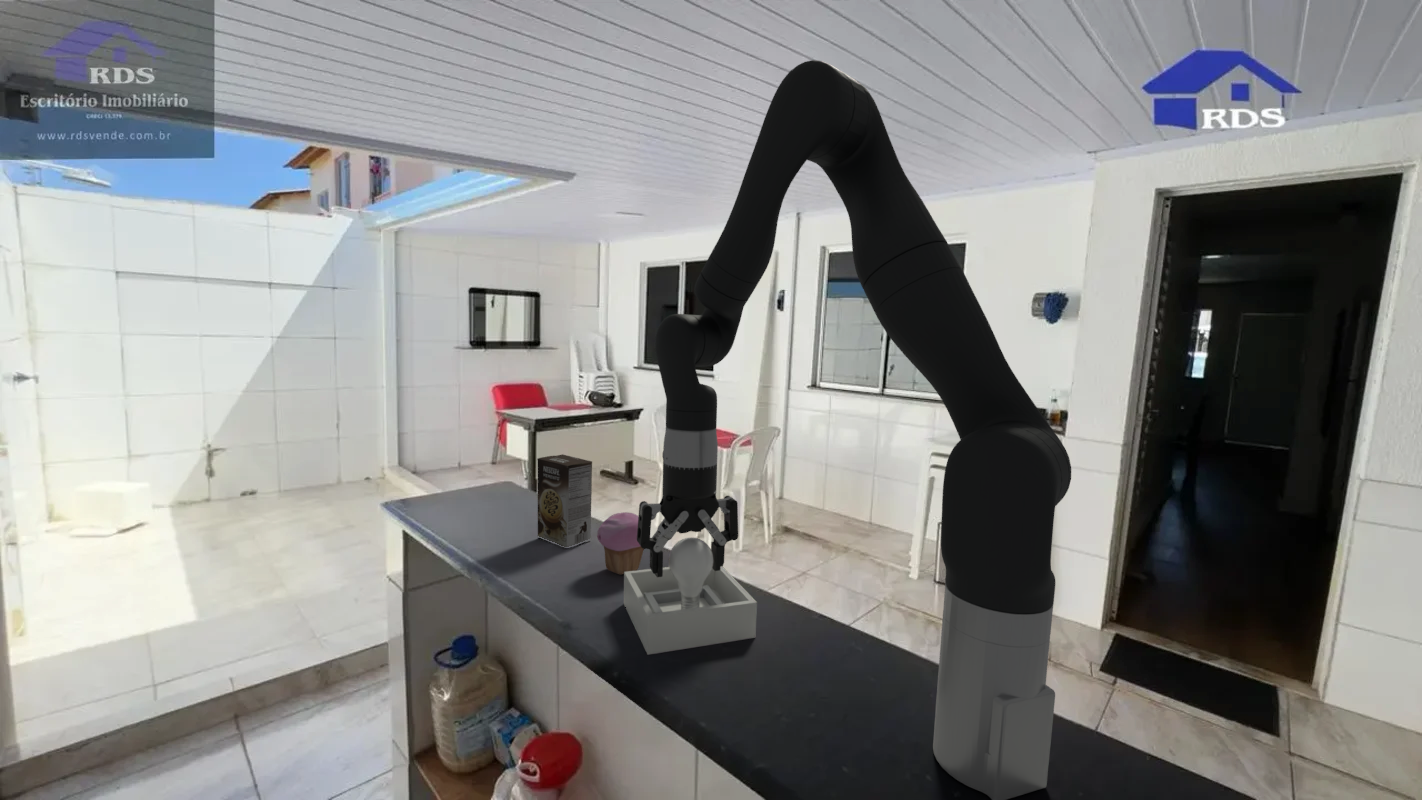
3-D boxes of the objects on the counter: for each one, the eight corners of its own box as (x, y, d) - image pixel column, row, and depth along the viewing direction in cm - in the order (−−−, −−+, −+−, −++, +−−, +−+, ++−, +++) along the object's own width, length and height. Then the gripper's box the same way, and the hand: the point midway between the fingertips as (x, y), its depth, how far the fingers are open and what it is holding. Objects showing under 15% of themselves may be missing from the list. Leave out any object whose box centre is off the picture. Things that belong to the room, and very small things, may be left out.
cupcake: (633, 557, 108) (633, 503, 107) (658, 573, 101) (660, 516, 100) (588, 568, 103) (588, 511, 102) (612, 585, 96) (612, 525, 95)
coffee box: (535, 539, 116) (535, 457, 115) (562, 530, 122) (562, 453, 120) (566, 550, 111) (566, 465, 109) (592, 541, 116) (593, 459, 114)
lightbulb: (707, 626, 81) (708, 549, 80) (662, 620, 83) (663, 544, 81) (716, 605, 88) (717, 533, 86) (674, 600, 89) (675, 529, 87)
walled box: (755, 637, 81) (756, 602, 80) (647, 654, 76) (648, 617, 75) (717, 591, 95) (717, 561, 94) (623, 603, 90) (624, 571, 89)
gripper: (646, 468, 77) (644, 588, 78) (748, 463, 82) (744, 576, 83) (633, 456, 84) (632, 567, 86) (728, 452, 89) (724, 557, 90)
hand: (687, 572), depth 84 cm, fingers open, 8 cm apart
